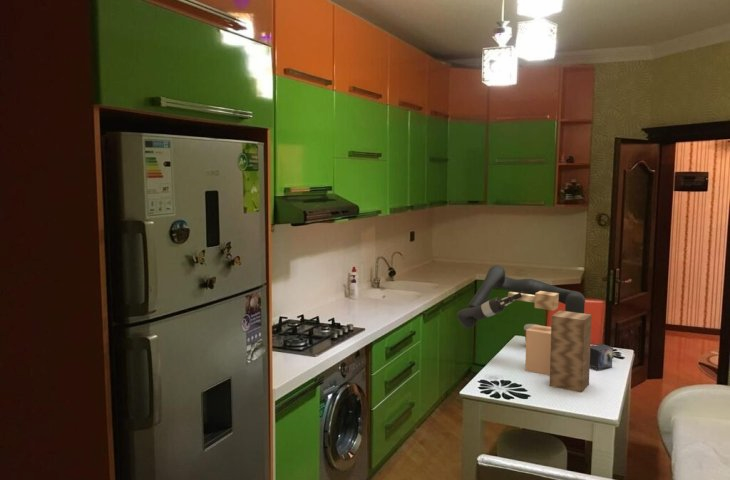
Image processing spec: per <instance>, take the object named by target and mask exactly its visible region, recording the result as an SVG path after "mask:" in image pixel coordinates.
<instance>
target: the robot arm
mask: <svg viewBox="0 0 730 480" xmlns="http://www.w3.org/2000/svg"><path fill="white" fill-rule="evenodd" d="M494 288H497V289H500V290H501V289H502V290H507V291H510V292H516V293H518V294H516V295H513V296H511V297H509V296H508V295H507V296H505V297H503V298H501V297H499V296H496V297H492V299H489V298H490V295H491V293H492V291H493V289H494ZM539 291H545V292H552V293H559V300H558V303H562V304H564V307H565V308H564V311H568V312H576V313H584V314H585V306H586V305H585V304H586V297H585V296H584V294H583V293H581V292H580V291H576V290H570V289H567V288H566V289H565V288H561V287H558V286H555V285H552V284H549V283H546V282H544V281H541V280H537V279H533V278H521V279H520V278H519V279H518V278H517V279H516V278H511V277H508V276H506V271H505V268H504V267H503V266H501V265H492V266H491V267H490V268H489V270H488V271H487V274H486V276H485V278H484V279H483V282H482V284H481V286H480V287H479V288H478V290H477V291H476V293H475V294H474V295H473V297H472V299H471V300H470V301H469V303H468V304H467V307H466V308H463V309H460V310H459V311H458V312H457V313H456V319H457V320H458V321H459V323H461V325H462V326H463V327H464V328H465V329H467V330H469V329H472V328H474V327H475V326H476V324H477V321H482V320H484V319H487V318H489V317H492V316H495V315H497V314H499V313H502V312H504V310H505V308H506V307H507V306H509V305H510V304H512V303H514V302H515V301H517V300H516V299H518V298H520V297H522V295H521V293H523V294H530V295H535V293H537V292H539ZM488 299H489V300H488Z"/></svg>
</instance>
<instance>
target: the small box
mask: <svg viewBox="0 0 730 480" xmlns="http://www.w3.org/2000/svg"><path fill="white" fill-rule="evenodd" d="M613 354H614V347H612V346H610V345H608V344H607V345H606V344H604V343H603V344H596V345H590V369H592V370H594V371H597V372H598V371H603V370H608V369H612V368H613Z"/></svg>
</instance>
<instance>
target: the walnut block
mask: <svg viewBox="0 0 730 480" xmlns="http://www.w3.org/2000/svg"><path fill="white" fill-rule="evenodd" d="M592 316H593V315H592V314H591V313H589V314H588V313H585V312H584V313H576V312H568V311H565V310H558V311H556V312H555V313H554V314H552V315H551V323H550V324H551V325H550V327H551V353H550V375H549V387H553V388H557V389H562V390H567V391H572V392H576V393H583V392H584V391H585V390H586V389H587V387H589V385H590V369H591V368H590V346H592V343H591V342H592V341H591V340H592V339H591V338H592V337H591V336H592V320H593V319H592Z"/></svg>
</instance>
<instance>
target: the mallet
mask: <svg viewBox="0 0 730 480" xmlns="http://www.w3.org/2000/svg"><path fill="white" fill-rule="evenodd" d="M507 293H508V294H507V297H508V296H509V297H511V296H513V295H516V294H518V292H515V291H509V292H507ZM521 295H522V297H520V298H518V299H516V300H515V301H521V302H528V303H534V309H541V310H546V311H553V312H554V311H555V310H558V308H559V302H558V300H559V293H552V292H545V291H539V292H537V293H535V295H530V294H523V293H521Z"/></svg>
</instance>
